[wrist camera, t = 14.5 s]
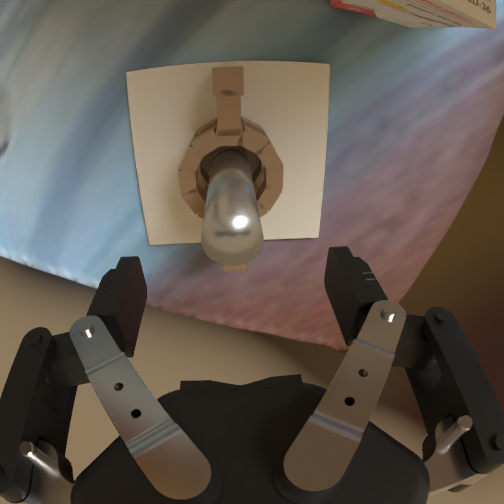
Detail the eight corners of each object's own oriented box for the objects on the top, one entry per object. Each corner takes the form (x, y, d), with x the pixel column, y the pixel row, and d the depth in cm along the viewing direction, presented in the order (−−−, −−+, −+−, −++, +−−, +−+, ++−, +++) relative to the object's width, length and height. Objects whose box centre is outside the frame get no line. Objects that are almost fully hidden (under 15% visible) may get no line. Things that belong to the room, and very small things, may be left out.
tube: (213, 174, 28) (203, 267, 16) (211, 141, 26) (197, 213, 15) (248, 173, 28) (263, 264, 16) (247, 140, 26) (264, 210, 15)
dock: (151, 241, 32) (137, 280, 27) (128, 71, 23) (101, 75, 17) (316, 233, 33) (333, 270, 27) (327, 64, 24) (354, 65, 18)
